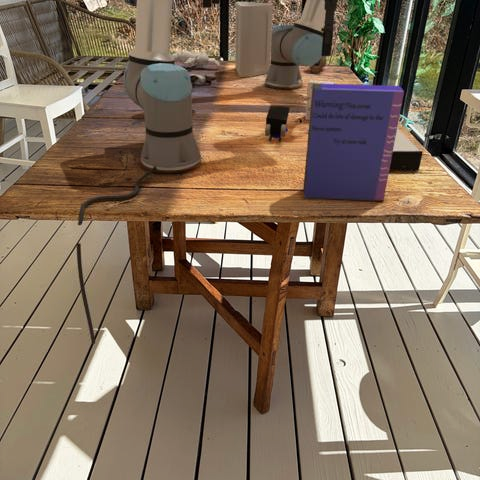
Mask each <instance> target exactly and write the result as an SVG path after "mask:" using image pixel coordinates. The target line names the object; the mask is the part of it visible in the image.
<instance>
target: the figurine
mask: <svg viewBox="0 0 480 480" xmlns="http://www.w3.org/2000/svg"><path fill="white" fill-rule="evenodd" d="M190 79H191V84H195V83H200V84H203V85H206V84H209V85H211V84H212V82H214V81H216V80H218V77H217V76H215V75H214V76H209V75H207V74H206V73H205V74H204V75H198V74H195V73H190Z"/></svg>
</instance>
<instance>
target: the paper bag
mask: <svg viewBox="0 0 480 480" xmlns="http://www.w3.org/2000/svg"><path fill="white" fill-rule="evenodd" d="M273 8H274V4H273V3H269V2H267V3H266V2H265V3H264V2H252V1H235V59H234V60H235V62H234V63H235V65H234V66H235V68H234V69H235V71H236V73H237V75H238V77H239V78H253V77H257V76H259V75H260V76H261V75H267V74H268V71H269V68H270V63H271V34H272V28H273V10H274V9H273Z"/></svg>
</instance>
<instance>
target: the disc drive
mask: <svg viewBox="0 0 480 480" xmlns="http://www.w3.org/2000/svg"><path fill="white" fill-rule="evenodd" d="M423 153H424V152H423V151H422V150H420V149H419V148H418V147H417V146H416V145H415V144H414V143H413V142H412V141H411V140H410V139H409V138H408V137H407V136H406V135H405V134H404V133H403V132H402V130H400V128H399V127H397V132H396V137H395V142H394V148H393V153H392V158H391V164H390V169H389V172H391V171H393V172H394V171H396V172H397V171H398V172H399V171H400V172H401V171H404V172H405V171H406V172H408V171H411V172H412V171H415V172H416V171H417V172H418V171H420V166H421V163H422V158H423Z"/></svg>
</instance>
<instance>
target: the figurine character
mask: <svg viewBox="0 0 480 480" xmlns="http://www.w3.org/2000/svg"><path fill="white" fill-rule="evenodd" d="M289 113H290V107H289V106H282V105H281V106H280V105H269V109H268V111H267V115H266V118H265V129H264V137H269V138H268V142H269V143H272V139H275V140H276V139H278V143H281V142H282V139H283V138H285V137H286V134H287V133H288V132H289V129H288V126H287V125H288V119H289Z"/></svg>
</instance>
